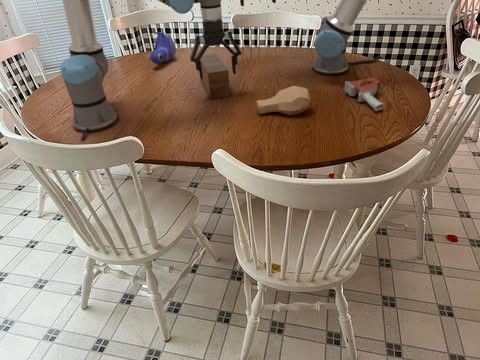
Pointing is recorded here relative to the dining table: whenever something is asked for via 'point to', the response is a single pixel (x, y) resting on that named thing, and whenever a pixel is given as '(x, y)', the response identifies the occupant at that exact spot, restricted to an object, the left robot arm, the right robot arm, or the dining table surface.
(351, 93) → the tape dispenser
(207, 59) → the box
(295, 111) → the squash
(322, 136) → the dining table surface
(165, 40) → the toy
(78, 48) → the left robot arm
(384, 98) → the dining table surface
